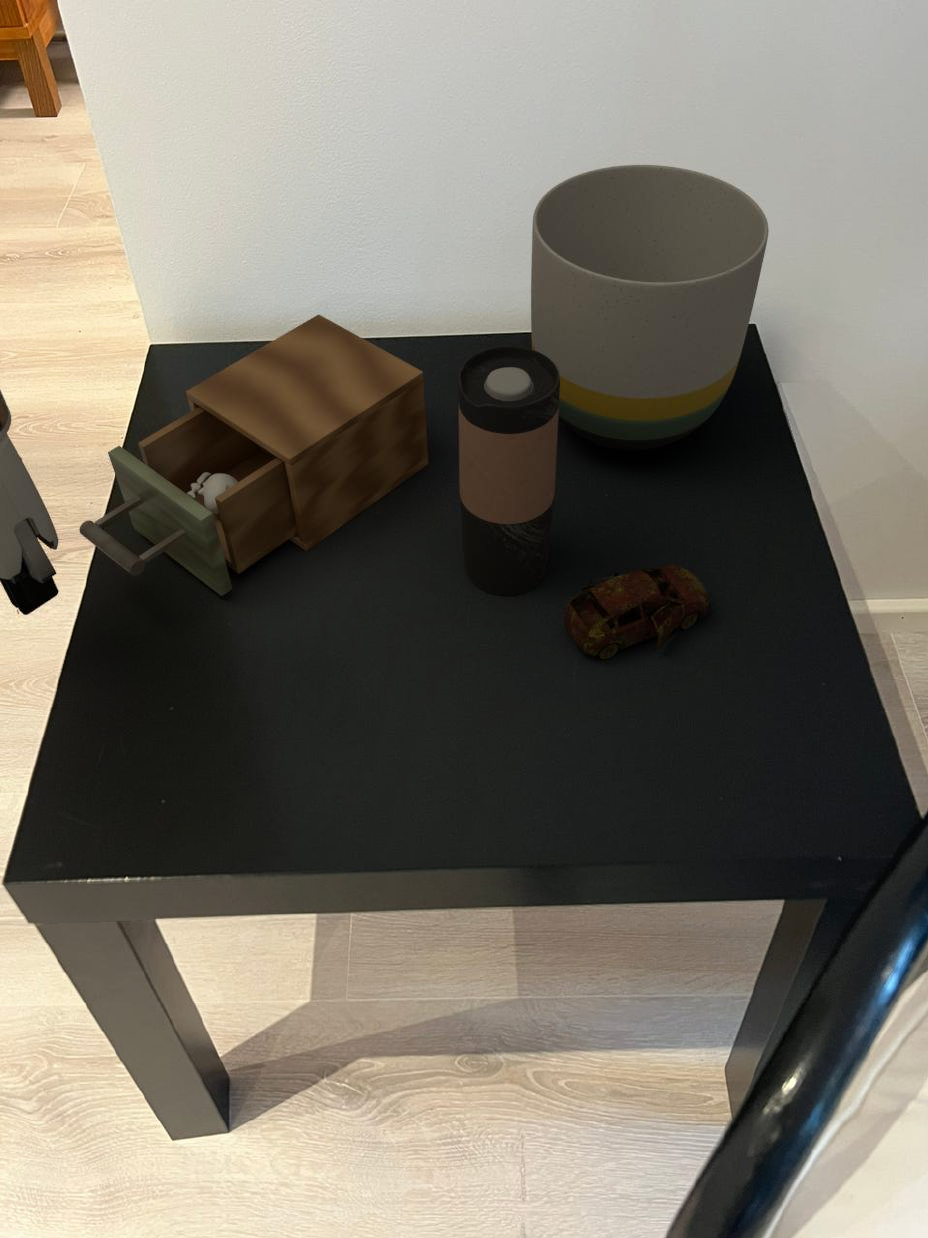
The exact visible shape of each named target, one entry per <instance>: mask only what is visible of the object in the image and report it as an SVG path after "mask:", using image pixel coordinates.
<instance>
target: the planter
mask: <svg viewBox="0 0 928 1238" xmlns="http://www.w3.org/2000/svg"><path fill="white" fill-rule="evenodd" d="M531 231H532V232H531V270H530V272H531V273H530V275H531V276H530V328H531V329H530V331H531V349H532V350H535V351H538V352H540V353H542V354H544V355H545V356H547V357H548V358H549V359H551V360H552V361H553V362H554V364H555V365H556V367H557V369H558V371H559V375H560V393H559V414H558V421H560V422H561V423H562V425H564V426H566V428H568V429H569V430H571V431H572V432H573V433H574V434H576V435H578V436H579V437H580V438H583V439H584V440H587V441H589V442H591V443H593V444H596V445H599V446H601V447H604V448H608V449H615V450H619V451H644V450H652V449H656V448H660V447H664V446H668V445H670V444H672V443H675V442H677V441H679V440H681V439H683V438H686V437H687V436H688V435H690V434H691V433H694V432H695V431H696V430H697V429H699V428H700V427H701V426H702V425H703V424H705V423H706V421H708V420H709V419H710V418H711V417H712V415H713V414H714V412H715V411H716V410H717V409H718V407H719V406H720V404H721V403H722V401H723V399H724V397H725V396H726V394H727V393H728V390H729V388H730V386H731V384H732V382H733V379H734V378H735V377H734V376H735V374H736V371H737V368H738V365H739V361H740V359H741V355H742V352H743V348H744V344H745V340H746V337H747V332H748V328H749V324H750V320H751V317H752V312H753V308H754V303H755V299H756V295H757V290H758V286H759V281H760V276H761V272H762V267H763V263H764V258H765V255H766V249H767V244H768V240H769V233H770V232H769V223H768V219H767V217H766V214H765V213H764V210H762V208H761V207H760V205H759V204H758V203H757V202H756V201H755V200H754V199H753V198H752V197H751V196H750V195H748V194H747V193H746V192H744V191H743V190H741V189H740V188H738V187H736V186H735V185H733V184H731V183H729V182H727V181H725V180H722V179H720V178H719V177H715V176H712V175H709V174H706V173H703V172H700V171H695V170H691V169H687V168H681V167H675V166H668V165H659V164H658V165H657V164H627V165H625V164H624V165H615V166H608V167H603V168H597V169H593V170H588V171H586V172H582V173H579V174H577V175H574V176H571V177H569V178H567V179H565V180H563V181H561V182H559V183H558V184H556V185H554V186H553V187H552V188H550V189H549V190H548V191H547V192H546V193H545V194H544V195H543V196H542V197H541V198H540V200H539V201H538V203H537V204H536V206H535V209H534V211H533V216H532V230H531Z"/></svg>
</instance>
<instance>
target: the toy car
mask: <svg viewBox="0 0 928 1238" xmlns="http://www.w3.org/2000/svg"><path fill="white" fill-rule="evenodd" d="M624 572H627V573H624ZM619 573H622V574H620V575H618V574H619ZM605 579H607V580H605ZM600 580H605V581H602V582H600V583H597V584H592V583H593V582H595V581H600ZM588 595H590V597H588ZM709 605H710V599H709V594H708V592H707V590H706V588H705V586H704V584H703V583H702V582H701V581H700V579H699V578H698V577H697V576H696V575H695V574H694V573H693V572H691V571H690V570H688V569H686V568H684V567H682V566H680V565H675V564H671V565H669V564H668V565H664V566H659V567H655V568H636V569H635V568H634V569H633V570H632V569H628V570H623V571H617V572H614V575H613V577H612V576H608V577H603V578H598V579H594V580H590V581H589V583H588V584H587V585H584V586H582V588H581V592H580V593H578V594H576V595H575V596H574V597H572V598H571V599H570V600H569V601H568V602H567V603H566V607H565V608H566V611H565V613H564V614H563V615H564V626H565V628H566V630H567V631H568V633H569V635H570V636H571V638H572V639H573V640H574V642H575V644H577V646H578V647H579V649H580V650H581V651H582V652H583V653H585V654H586V655H589V656H593V657H596V656H597V655H598V656H599V658H600V659H601V660H608V659H610V658H612V657H613V656H615V655H616V653H618V650H621V651H622V650H624V649H625V648H628V647H631V646H634V645H636V644H639V643H640V642H645V641H646V640H649V639H652V638H655V637H657V640H656V643H655V644H656V645H655V649H654V652H656V651H657V650H658V649H659V648H660V647H661V646H662V644H663V643H664V642H665V641H666V640H667V638H668V637H669V636H670V635H671V634H672V632H674V630H675V629H678V628H680V627H681V629H683V630H686V629H689V628H691V627H692V626H693V625H694V624H695V623H696V621H697V620H698V619H701V620H702V619H704V618H705V616H706V615H707V611H708V609H709Z"/></svg>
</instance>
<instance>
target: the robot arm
mask: <svg viewBox="0 0 928 1238" xmlns="http://www.w3.org/2000/svg"><path fill="white" fill-rule="evenodd" d="M11 425H12V413H11V411H10V409H9V406H8V404H7V402H6V399H5V397H4V395H3V392H2V389H0V584H1V586H2V588H3V590H4V591H5V593H6V596H7V597H8V600H9V601H10V603H11V605H12V606H13V607H15V608H17V609H18V611H19V612H20V613H21V614H22V615H24V616H28V615H30V614H31V613H32V612H35V611H36V610H37V609H39V608H41V607H42V606H43V605H45V604H46V603H48V602H49V601H51V600H53V599H54V598H55V597H57V596H58V595H59V588H58V586H57V584H56V582H55V580H54V578H53V577H55V575H57V571H56V569H55V567H54V566H53V563H52V562H51V560H50V558H49V556H48V555H47V553H46V551H45V550H44V548H43V546H42V545H41V543H43V544H44V545H45V546H46V547H47V548H49V549H50V550H57V549H58V547H59V536H58V532H57V530H56V527H55V525H54V522H53V520H52V517H51V515H50V513H49V511H48V509H47V507H46V504H45V502H44V501H43V499H42V496H41V494H40V492H39V490H38V489H37V486H36V484H35V483H34V481H33V479H32V477H31V475H30V473H29V471H28V469H27V467H26V465H25V463H24V462H23V458H22V457H21V456H20V454H19V453H18V450H17V449H16V447H15V445H14V443H13V441H12V439H11V438H10V436H9V435H8V432H9V431H10V428H11ZM40 542H41V543H40Z"/></svg>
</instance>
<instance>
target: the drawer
mask: <svg viewBox="0 0 928 1238" xmlns="http://www.w3.org/2000/svg"><path fill="white" fill-rule="evenodd" d="M137 445H138V448H139V452H140V454H141V458H142V461H141V460H140V459H139V458H137V457H136V456H134V455H133V454H132V453H130V452H129V451H128V450H126V449H125V448H123V447H122V446H121V445H117V446H116V447H114V448H113V449H111V450H109V451H108V452H107V455H108V457H109V461H110V464H111V466H112V469H113V472H114V475H115V478H116V481H117V484H118V487H119V490H120V492H121V495H122V496H121V497H122V498H123V501H124V503H123V504H121V505H120V506H118V507H116V508H114V509H113V510H111V511H110V512H108V513H107V514H105V515H103V516H101V517H100V518H99V519H97V520H95V521H93V520H89V519H88V520H85V521H83V522H82V523H81V524H80V526H79V529H78V530H79V534H80V535H82V536H83V537H84V538H85V539H86V540H87V541H88V542H89V543H91V544H92V545H94V546H95V547H96V548H98V549H99V550H100V551H101V552H102V553H104V555H106V556H107V557H108V558H110V559H111V560H112V561H114V563H116V564H117V565H118V566H120V568H122V569H123V570H124V571H126V572H127V573H128V574H130V575H131V576H133V577H138V576H139V575H141V574H142V573H143V572H144V570H145V568H146V565H147V564H148V563H150V562H151V561H153V560H154V559H155V558H157V557H158V556H160V555H162V554H163V553H165V554H166V555H167V556H169V557H170V558H172V559H173V560H174V561H176V563H177V564H179V565H180V566H182V567H183V568H184V569H186V570H187V571H188V572H189V573H191V574H192V575H193V576H195V577H196V578H197V579H199V581H201V582H202V583H204V584H205V585H206V586H208V587H209V588H210V589H211V590H212V591H214V592H215V593H217V594H218V595H219V596H221V597H223V596H225V595H226V594H227V593H229V592H230V591H232V590H233V586H232V581H231V578H230V573H229V569H228V567H229V568H230V569H232V570H233V571H234V572H235V573H237V574H241V573H242V572H244V571H245V570H246V569H248V568H250V567H251V566H252V565H254V564H255V563H257V562H258V561H259V560H261V559H262V558H263V557H264V558H265V556H267V555H268V554H269V553H271V552H273V550H276V549H277V548H278V547H279V546H281V545H282V544H283V543H285V542H287V541H288V540H289V538H291V537H292V536H294V535H295V534H296V533H298V531H297V525H296V520H295V514H294V509H293V504H292V498H291V493H290V487H289V482H288V477H287V471H286V466H285V462H284V461H282V460H281V459H279V458H278V457H276V456H274V455H273V454H271V453H270V452H268V451H267V450H265V449H264V448H262V447H261V446H259V445H258V444H256V443H255V442H253V441H252V440H250V439H249V438H247V437H246V436H244V435H242V434H241V433H239V432H238V431H236V430H235V429H233V428H232V427H230V426H229V425H227V424H226V423H224V422H223V421H221V420H220V419H218V418H217V417H215V416H214V415H212V414H211V413H209V412H207V411H206V410H204V409H203V408H201V407H198V408H196V409H195V410H193V411H191V410H190V412H188V413H186V414H185V415H183V416H181V417H179V418H177V419H176V420H175V421H173V422H171V423H169V424H167V425H166V426H163V428H161V429H159V430H157V431H156V432H154V433H152V434H151V435H149V436H148V437H146V438H144V439H142V440H141V441H139V442H137ZM205 472H208V473H210V474H211V475H209V476H208V477H207V478H206V479H205V480H204V481H203V483H204V482H205V481H206V480H207V479H208V478H209V477H210V476H212V475H213V474H218V473H222V474H227V475H230V476H232V477H233V478H235V479H236V480H237V481H238V483H237V484H235V485H234V486H232V487H230V488H229V489H227V490H226V491H224V492H223V493H221V494H220V495H218V496H217V497H215V501H216V505H217V509H218V512H219V514H214V513H212V512H211V511H209V510H208V509H206V507H205V504H204V496H203V495H200V494H199V493H198V491H199V490H198V491H196V492H194V494H195V498H192V497H190V496H189V495H188V494H187V493H188V492H189V491H192V489H191V484H192V483H197V480H198V478H199V477H200V476H201V475H202V474H203V473H205ZM203 483H202V484H200V486H201V488H200V489H202V488H203V487H204V485H203ZM127 514H128V516H129V519H130V521H131V525H132V528H133V529H134V530H135V531H136V532H138V533H139V534H140V535H142V536H143V537H144V538H145V539H147V540H148V541H149V542H151V543H152V544H153V545H154V546H152V547H150V548H149V549H148V550H146V551H145V552H143V553H142V554H140V555H139V556H138V555H136V554H135V553H133V552H132V551H131V550H129V549H128V548H127V547H126V546H125V545H123V544H122V543H121V542H119V540H117V539H116V538H114V537H113V536H112V535H110V534H109V533H108V532H107V531H105V530H104V528H106V527H107V526H109V525H111V524H112V523H114V522H115V521H117V520H119V519H120V518H122V517H124V516H125V515H127Z"/></svg>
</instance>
